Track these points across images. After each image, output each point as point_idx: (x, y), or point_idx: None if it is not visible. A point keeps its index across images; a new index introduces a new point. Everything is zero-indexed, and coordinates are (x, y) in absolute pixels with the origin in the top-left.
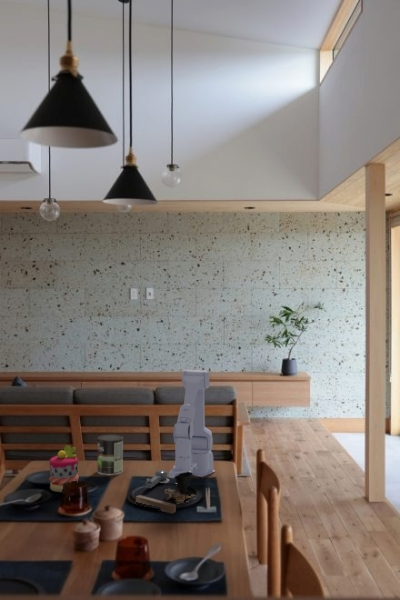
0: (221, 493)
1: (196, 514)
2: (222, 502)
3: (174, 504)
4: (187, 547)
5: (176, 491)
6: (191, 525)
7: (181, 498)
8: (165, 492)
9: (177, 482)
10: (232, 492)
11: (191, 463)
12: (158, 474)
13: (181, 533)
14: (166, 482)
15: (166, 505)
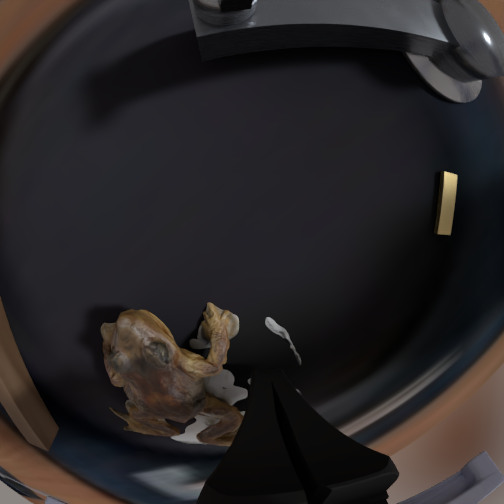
0: (385, 439)
1: (113, 476)
2: None
3: (44, 447)
4: (12, 468)
5: (167, 415)
6: (56, 472)
7: (155, 430)
8: (112, 335)
9: (236, 438)
10: (404, 445)
11: (488, 494)
12: (449, 17)
13: (19, 458)
14: (441, 94)
15: (15, 421)
